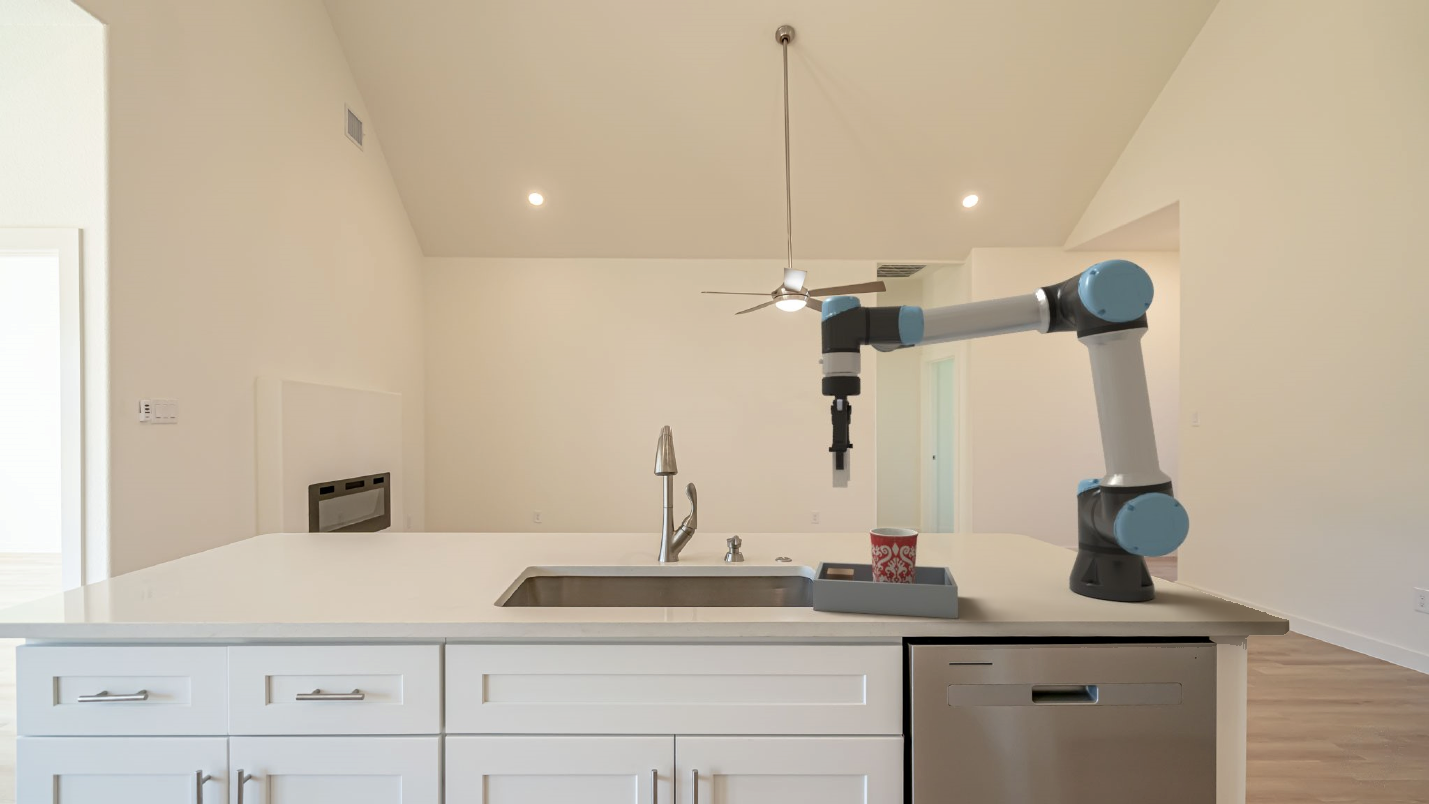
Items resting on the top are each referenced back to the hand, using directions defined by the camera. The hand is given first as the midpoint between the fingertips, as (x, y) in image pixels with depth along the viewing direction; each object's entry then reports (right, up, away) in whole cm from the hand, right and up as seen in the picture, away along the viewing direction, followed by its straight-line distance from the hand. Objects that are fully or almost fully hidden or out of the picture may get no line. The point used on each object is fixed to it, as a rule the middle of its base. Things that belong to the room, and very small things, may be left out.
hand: (841, 484), depth 139 cm
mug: (+9, -22, -3) cm, 24 cm away
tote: (+8, -23, -2) cm, 24 cm away
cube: (0, -22, 0) cm, 22 cm away
